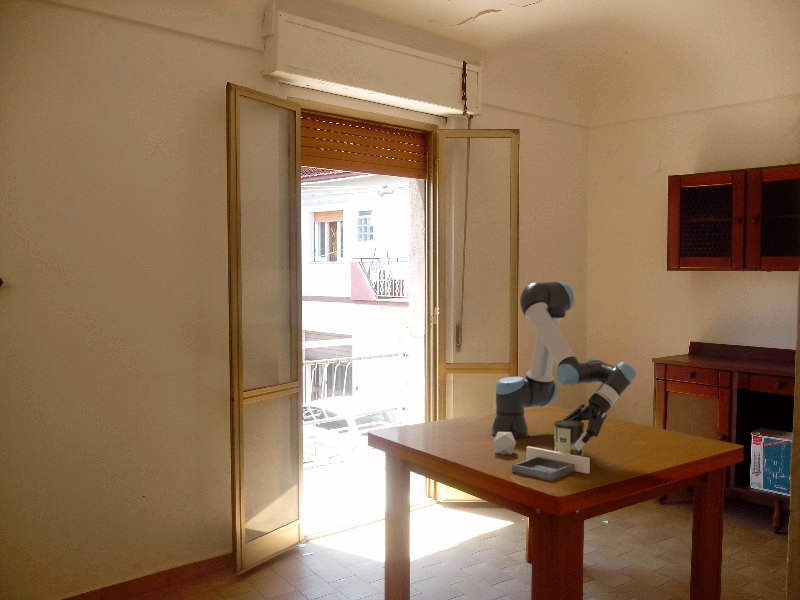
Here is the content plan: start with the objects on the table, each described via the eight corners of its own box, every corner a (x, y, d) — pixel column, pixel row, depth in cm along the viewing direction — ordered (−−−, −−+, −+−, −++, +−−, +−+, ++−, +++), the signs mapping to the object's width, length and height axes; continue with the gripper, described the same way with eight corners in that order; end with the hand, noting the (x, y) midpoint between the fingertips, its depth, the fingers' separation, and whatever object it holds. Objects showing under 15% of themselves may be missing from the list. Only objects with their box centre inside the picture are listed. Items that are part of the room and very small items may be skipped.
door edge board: (526, 460, 254) (526, 447, 253) (528, 460, 255) (528, 446, 255) (587, 473, 237) (587, 458, 237) (589, 472, 238) (589, 458, 238)
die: (507, 459, 258) (521, 437, 260) (487, 446, 261) (501, 424, 263) (507, 461, 266) (521, 440, 268) (487, 448, 269) (501, 427, 270)
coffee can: (583, 459, 256) (583, 420, 255) (584, 466, 246) (584, 426, 245) (553, 457, 258) (553, 419, 257) (554, 465, 248) (554, 425, 247)
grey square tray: (512, 472, 239) (512, 464, 239) (536, 463, 250) (536, 456, 250) (550, 481, 229) (551, 473, 229) (574, 471, 240) (574, 464, 240)
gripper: (630, 412, 244) (591, 459, 240) (590, 400, 267) (554, 442, 264) (617, 398, 242) (578, 445, 238) (578, 387, 266) (541, 429, 262)
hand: (565, 444), depth 251 cm, fingers open, 13 cm apart
